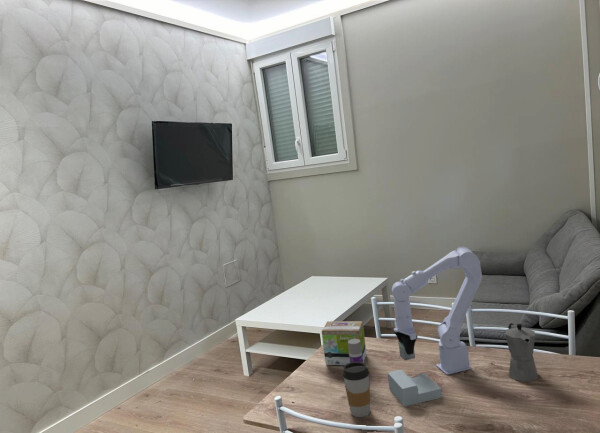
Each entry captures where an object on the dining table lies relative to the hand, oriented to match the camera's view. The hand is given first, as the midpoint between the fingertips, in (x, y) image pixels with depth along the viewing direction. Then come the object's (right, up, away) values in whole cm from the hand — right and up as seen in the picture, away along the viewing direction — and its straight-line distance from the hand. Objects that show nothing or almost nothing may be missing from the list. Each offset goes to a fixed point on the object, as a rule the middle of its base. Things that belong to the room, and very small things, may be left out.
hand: (407, 351), depth 166 cm
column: (0, -2, 0) cm, 2 cm away
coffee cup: (-20, -13, -21) cm, 32 cm away
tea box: (-20, -9, +16) cm, 27 cm away
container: (-18, -10, -2) cm, 21 cm away
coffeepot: (+36, -4, -12) cm, 38 cm away
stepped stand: (-2, -10, -15) cm, 18 cm away
